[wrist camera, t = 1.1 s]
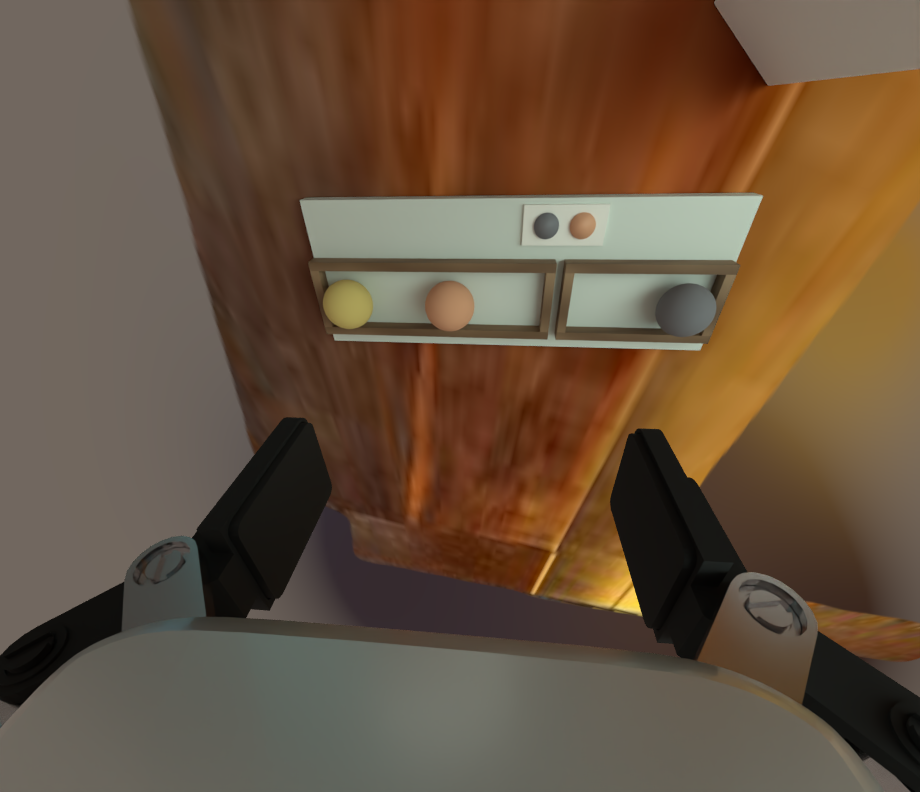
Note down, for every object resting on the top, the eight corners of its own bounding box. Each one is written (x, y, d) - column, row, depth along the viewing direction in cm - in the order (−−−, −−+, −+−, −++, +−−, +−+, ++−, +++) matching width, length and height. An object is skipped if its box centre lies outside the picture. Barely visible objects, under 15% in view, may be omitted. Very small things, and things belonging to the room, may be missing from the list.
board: (306, 197, 30) (296, 201, 28) (753, 192, 26) (767, 196, 25) (339, 334, 37) (332, 342, 35) (694, 343, 34) (702, 353, 32)
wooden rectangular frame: (564, 259, 29) (566, 264, 28) (732, 260, 28) (740, 265, 27) (554, 333, 33) (555, 339, 32) (701, 336, 32) (707, 343, 31)
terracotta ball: (427, 273, 31) (418, 291, 28) (476, 273, 31) (472, 292, 27) (431, 318, 33) (423, 339, 30) (476, 319, 33) (472, 340, 30)
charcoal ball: (656, 275, 29) (674, 294, 26) (710, 275, 29) (736, 295, 26) (643, 322, 32) (658, 345, 28) (693, 323, 31) (714, 347, 28)
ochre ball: (328, 272, 32) (308, 289, 29) (374, 272, 31) (359, 290, 28) (339, 316, 34) (321, 336, 31) (381, 317, 34) (368, 338, 31)
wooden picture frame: (313, 257, 31) (307, 262, 30) (555, 259, 29) (557, 264, 28) (331, 328, 35) (326, 333, 34) (546, 333, 33) (547, 339, 32)
